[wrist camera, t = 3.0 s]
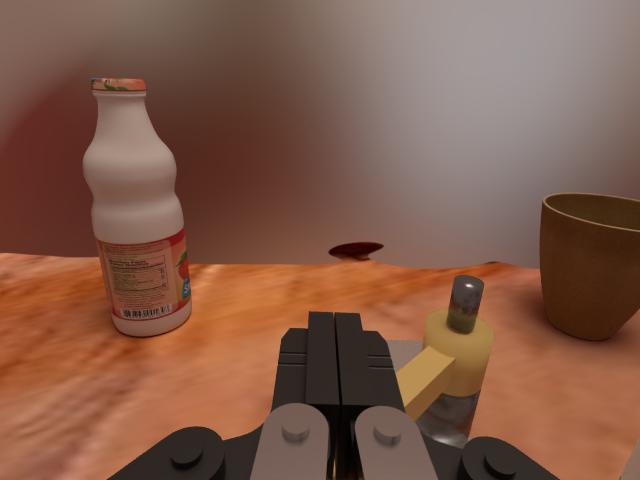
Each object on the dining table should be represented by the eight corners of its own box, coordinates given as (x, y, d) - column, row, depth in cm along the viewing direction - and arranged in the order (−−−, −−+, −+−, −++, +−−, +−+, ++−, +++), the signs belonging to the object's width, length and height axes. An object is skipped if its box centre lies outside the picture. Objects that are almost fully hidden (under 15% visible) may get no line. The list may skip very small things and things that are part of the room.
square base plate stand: (429, 348, 46) (452, 219, 39) (534, 604, 24) (624, 404, 17) (284, 344, 45) (284, 214, 39) (252, 600, 23) (241, 395, 17)
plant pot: (595, 296, 58) (632, 193, 52) (677, 363, 45) (741, 235, 38) (496, 292, 58) (521, 188, 52) (547, 358, 45) (590, 229, 39)
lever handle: (437, 345, 34) (445, 302, 32) (492, 374, 31) (504, 328, 29) (255, 503, 21) (253, 444, 19) (319, 579, 18) (322, 517, 16)
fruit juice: (100, 316, 49) (48, 76, 38) (170, 289, 56) (142, 78, 45) (134, 349, 44) (84, 79, 33) (207, 316, 50) (186, 81, 39)
